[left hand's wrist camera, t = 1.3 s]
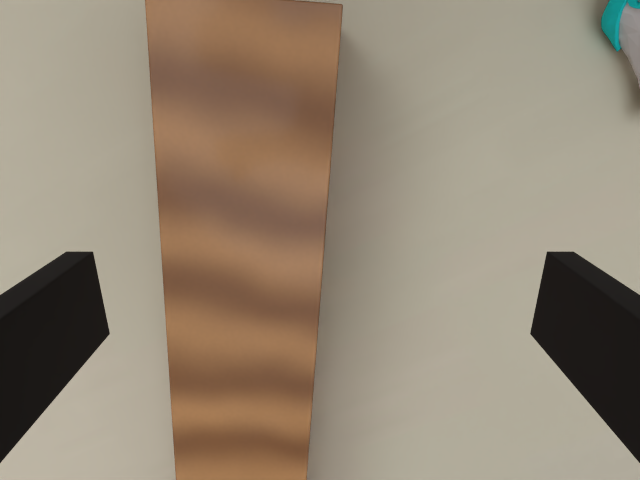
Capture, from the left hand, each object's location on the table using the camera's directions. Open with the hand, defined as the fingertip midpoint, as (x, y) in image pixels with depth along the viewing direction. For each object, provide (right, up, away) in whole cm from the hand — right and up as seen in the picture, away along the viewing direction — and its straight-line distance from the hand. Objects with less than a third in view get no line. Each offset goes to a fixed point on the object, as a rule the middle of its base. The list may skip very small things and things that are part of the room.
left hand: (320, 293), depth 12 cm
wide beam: (-6, -16, +25) cm, 30 cm away
